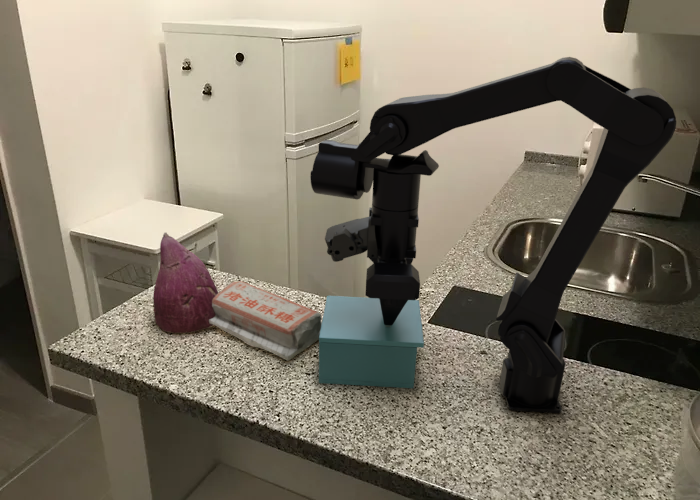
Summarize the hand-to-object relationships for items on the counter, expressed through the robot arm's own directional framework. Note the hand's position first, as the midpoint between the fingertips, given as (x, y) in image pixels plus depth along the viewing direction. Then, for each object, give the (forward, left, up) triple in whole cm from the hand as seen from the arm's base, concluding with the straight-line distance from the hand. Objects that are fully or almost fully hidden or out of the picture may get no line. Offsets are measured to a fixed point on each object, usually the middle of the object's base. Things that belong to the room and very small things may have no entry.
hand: (388, 314), depth 78 cm
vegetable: (+30, -9, -8) cm, 33 cm away
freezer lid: (+2, 0, -1) cm, 2 cm away
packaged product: (+18, -7, -8) cm, 21 cm away
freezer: (+3, 0, -8) cm, 8 cm away
